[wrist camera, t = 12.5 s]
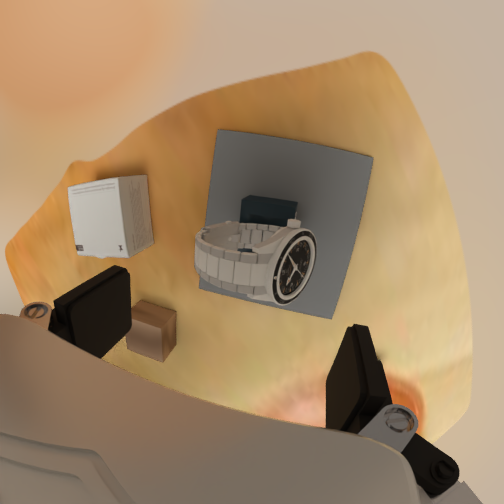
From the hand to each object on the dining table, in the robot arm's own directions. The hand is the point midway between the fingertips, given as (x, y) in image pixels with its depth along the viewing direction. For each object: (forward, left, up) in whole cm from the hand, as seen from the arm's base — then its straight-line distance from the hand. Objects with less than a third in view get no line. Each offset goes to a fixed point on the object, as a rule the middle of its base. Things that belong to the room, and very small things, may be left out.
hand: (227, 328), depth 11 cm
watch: (0, +1, -16) cm, 16 cm away
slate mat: (0, 0, -16) cm, 16 cm away
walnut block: (-14, +12, -17) cm, 25 cm away
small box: (-1, +17, -17) cm, 24 cm away
